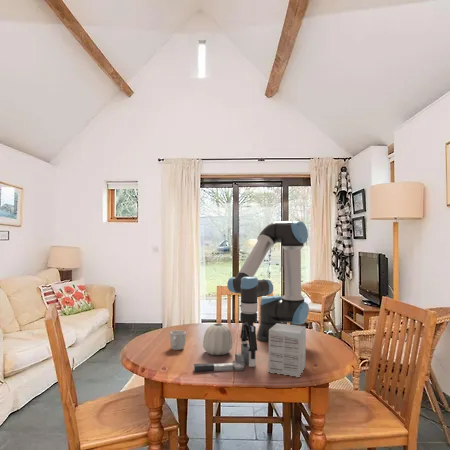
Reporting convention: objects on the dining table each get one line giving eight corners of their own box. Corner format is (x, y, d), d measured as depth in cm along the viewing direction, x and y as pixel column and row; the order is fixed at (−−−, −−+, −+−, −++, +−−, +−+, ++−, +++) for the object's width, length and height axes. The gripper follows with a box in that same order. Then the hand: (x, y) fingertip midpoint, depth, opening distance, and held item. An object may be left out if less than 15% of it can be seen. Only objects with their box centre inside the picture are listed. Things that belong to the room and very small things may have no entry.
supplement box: (275, 362, 157) (276, 322, 158) (305, 367, 152) (306, 326, 153) (267, 372, 145) (268, 329, 146) (300, 378, 140) (300, 333, 141)
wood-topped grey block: (252, 360, 160) (252, 343, 160) (255, 364, 155) (255, 346, 155) (240, 360, 159) (241, 343, 159) (243, 364, 154) (244, 347, 154)
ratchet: (242, 366, 152) (242, 352, 152) (245, 370, 147) (245, 355, 147) (193, 368, 148) (193, 354, 148) (194, 373, 143) (195, 358, 143)
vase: (210, 359, 160) (211, 329, 161) (198, 350, 172) (199, 322, 173) (237, 355, 166) (238, 326, 167) (223, 347, 179) (224, 320, 179)
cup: (180, 353, 168) (181, 336, 168) (164, 352, 169) (165, 335, 170) (187, 346, 178) (188, 330, 179) (172, 345, 180) (173, 329, 180)
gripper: (234, 307, 169) (233, 352, 168) (247, 318, 145) (246, 371, 144) (249, 306, 171) (249, 351, 170) (265, 318, 146) (264, 370, 145)
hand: (248, 360), depth 157 cm, fingers open, 13 cm apart
